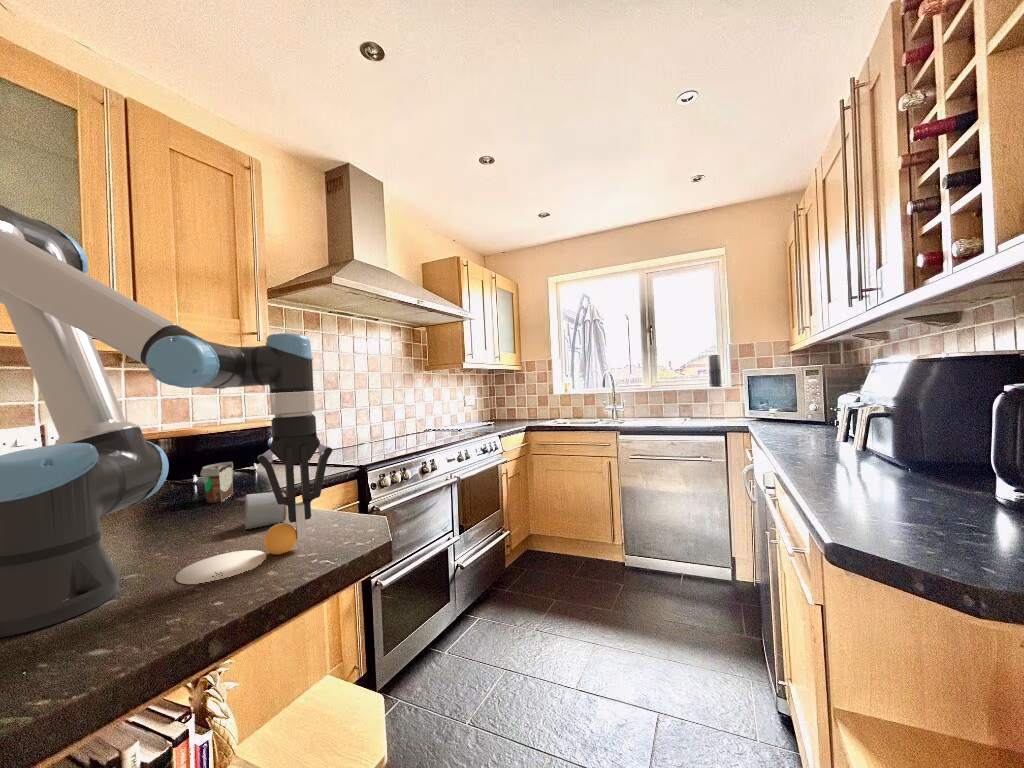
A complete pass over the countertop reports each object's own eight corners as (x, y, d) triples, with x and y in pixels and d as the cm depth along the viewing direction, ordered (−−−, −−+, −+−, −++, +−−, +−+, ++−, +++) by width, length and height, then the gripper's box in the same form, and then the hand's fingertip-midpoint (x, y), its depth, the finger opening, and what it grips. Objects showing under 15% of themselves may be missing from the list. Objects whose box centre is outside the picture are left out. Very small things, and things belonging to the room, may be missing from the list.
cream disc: (170, 592, 64) (170, 591, 64) (180, 564, 74) (180, 563, 74) (267, 568, 71) (267, 567, 71) (264, 545, 82) (264, 544, 82)
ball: (296, 557, 76) (261, 560, 73) (293, 547, 81) (260, 549, 78) (300, 527, 77) (266, 529, 74) (297, 518, 81) (264, 520, 78)
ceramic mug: (288, 524, 94) (287, 491, 94) (246, 533, 90) (244, 498, 90) (282, 515, 103) (281, 484, 103) (243, 522, 98) (242, 490, 98)
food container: (211, 496, 126) (209, 463, 126) (234, 493, 128) (233, 461, 128) (193, 506, 115) (192, 470, 115) (219, 503, 117) (217, 468, 117)
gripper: (327, 411, 86) (333, 524, 86) (253, 417, 79) (260, 540, 79) (333, 412, 80) (340, 534, 80) (254, 419, 73) (262, 552, 73)
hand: (301, 537), depth 79 cm, fingers closed
